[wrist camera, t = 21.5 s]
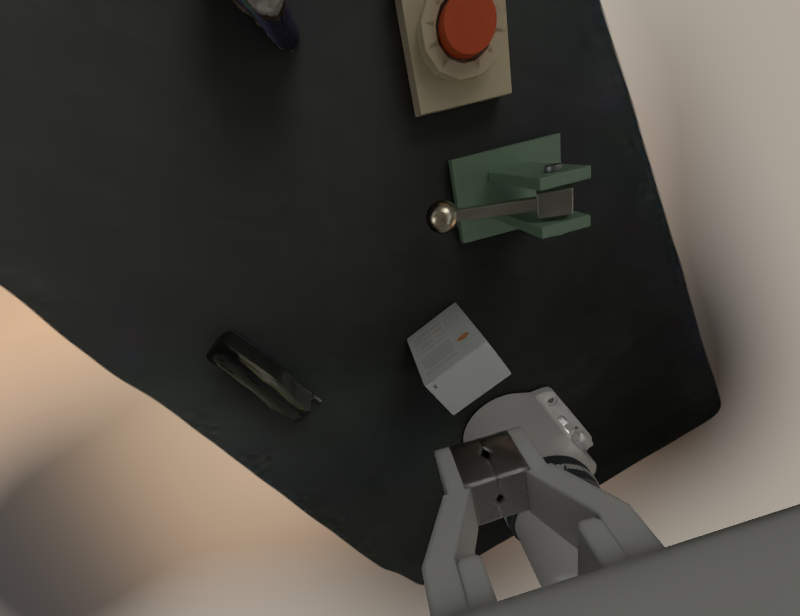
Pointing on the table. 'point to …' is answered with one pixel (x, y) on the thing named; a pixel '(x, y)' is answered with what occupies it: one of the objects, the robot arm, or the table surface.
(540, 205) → the lever
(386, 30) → the table surface
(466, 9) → the button
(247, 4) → the flask
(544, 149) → the switch bracket
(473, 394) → the small box
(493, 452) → the robot arm
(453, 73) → the button housing
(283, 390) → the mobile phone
